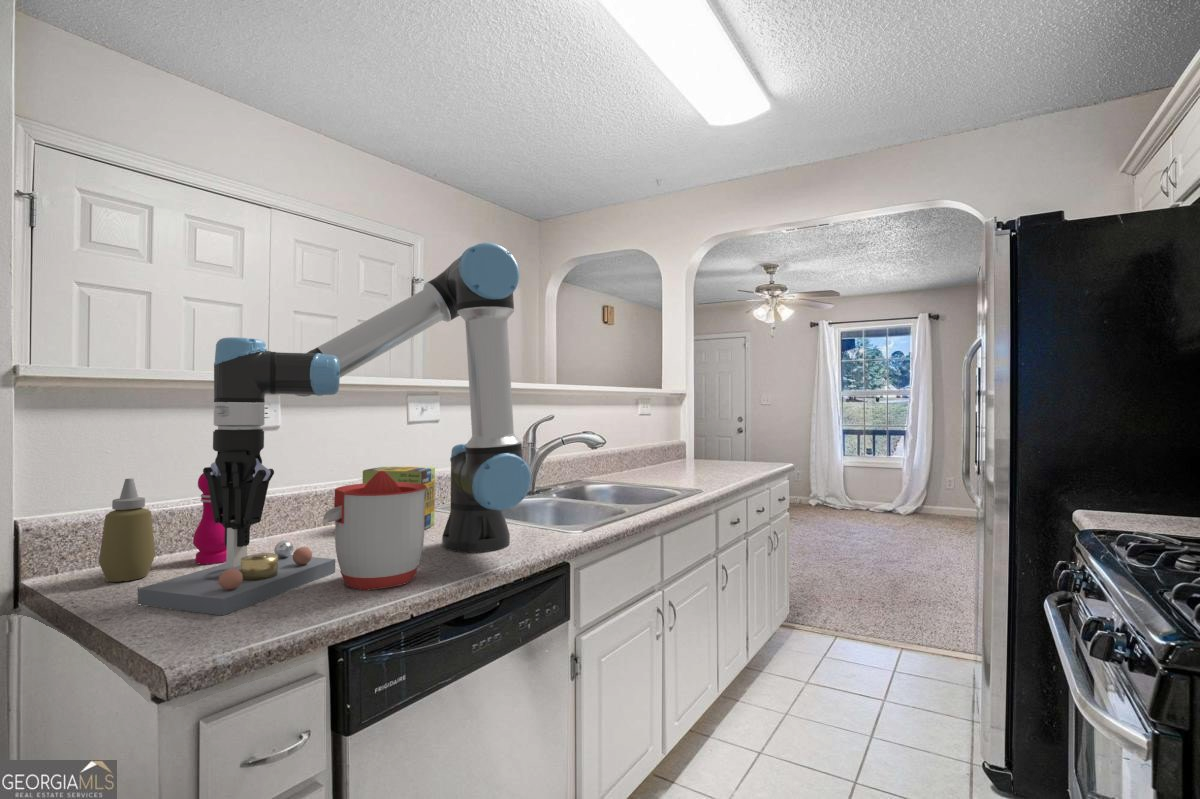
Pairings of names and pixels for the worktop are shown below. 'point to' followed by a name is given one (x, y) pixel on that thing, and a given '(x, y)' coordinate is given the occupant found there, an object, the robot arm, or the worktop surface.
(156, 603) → the grey tray
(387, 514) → the citrus juicer
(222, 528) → the pepper mill
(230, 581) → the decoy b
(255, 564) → the short gold cylinder
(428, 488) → the protein box
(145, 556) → the squeeze bottle
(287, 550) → the ball
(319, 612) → the worktop surface
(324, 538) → the worktop surface
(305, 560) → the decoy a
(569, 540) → the worktop surface
